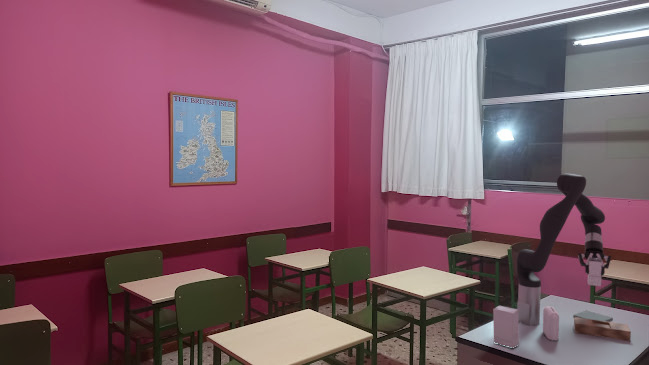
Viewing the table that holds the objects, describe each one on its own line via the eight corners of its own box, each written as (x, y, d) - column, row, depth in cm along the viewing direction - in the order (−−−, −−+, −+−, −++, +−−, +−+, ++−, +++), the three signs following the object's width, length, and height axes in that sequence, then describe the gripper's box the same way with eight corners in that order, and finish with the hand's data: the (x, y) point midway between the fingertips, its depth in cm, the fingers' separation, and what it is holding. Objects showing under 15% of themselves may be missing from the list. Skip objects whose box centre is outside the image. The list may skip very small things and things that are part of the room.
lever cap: (599, 283, 214) (600, 257, 213) (601, 286, 209) (602, 259, 208) (587, 281, 216) (588, 256, 216) (588, 284, 211) (589, 258, 210)
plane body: (626, 333, 195) (627, 324, 195) (630, 341, 187) (630, 331, 187) (574, 325, 204) (574, 316, 204) (575, 332, 196) (575, 323, 196)
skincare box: (519, 345, 181) (520, 309, 181) (512, 350, 177) (513, 313, 176) (498, 339, 187) (499, 304, 187) (492, 343, 183) (493, 307, 182)
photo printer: (541, 331, 197) (542, 303, 196) (552, 332, 196) (553, 304, 195) (548, 340, 187) (549, 311, 186) (559, 341, 186) (560, 312, 185)
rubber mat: (600, 324, 205) (600, 322, 205) (573, 316, 215) (573, 314, 215) (612, 319, 212) (612, 317, 212) (586, 312, 222) (586, 310, 222)
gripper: (577, 238, 221) (578, 268, 211) (611, 241, 215) (614, 271, 205) (576, 247, 226) (576, 276, 216) (610, 249, 220) (612, 280, 210)
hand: (595, 274), depth 211 cm, fingers closed on lever cap, 5 cm apart
